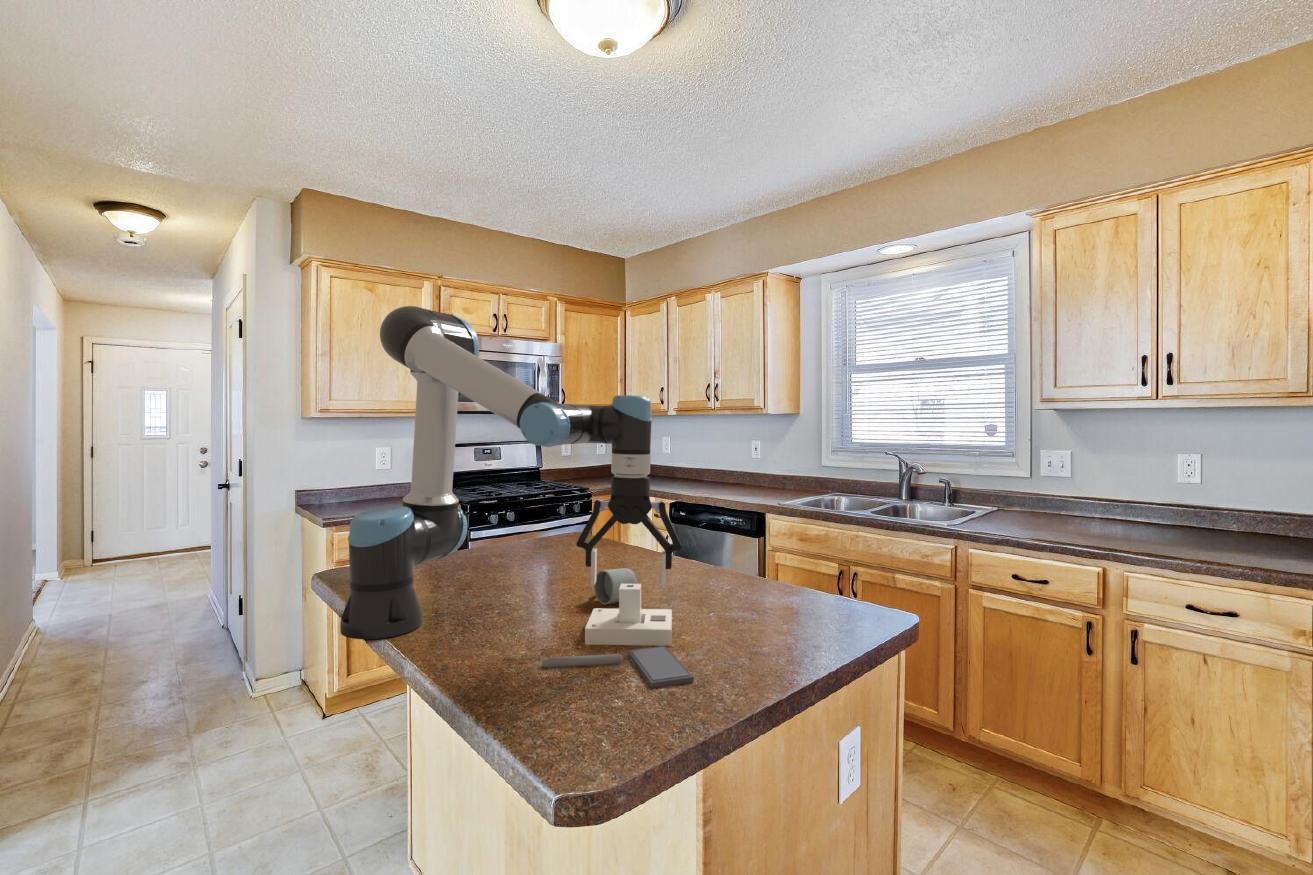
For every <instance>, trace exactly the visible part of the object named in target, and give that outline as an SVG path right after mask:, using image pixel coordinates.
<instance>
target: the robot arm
mask: <svg viewBox="0 0 1313 875" xmlns="http://www.w3.org/2000/svg"><path fill="white" fill-rule="evenodd" d="M379 339H380V343H381V347H382V348H383V350H384V351H385V352H386V354H387V355H388V356H389V357H390V358H392V359H393V360H395V361H396V362H397V363H399V364H400V365H402V366H405V367H406V368H408V369H409V370H410V371H409V372H410V373H409V374H410V375H411V376H412V377H413V378H414V379H415V380H416V396H415V398H416V399H415V413H414V414H415V415H414V418H415V419H414V434H413V449H412V463H411V464H412V465H411V467H412V468H411V484H410V491H409V492H408V493H407V494H406V495H405V496H404V497H402V505H391V506H384V507H380V508H379V507H377V508H371V509H367V510H365V511H362V512H359V513H358V514H355V516H354V517H352V519H351V520H350V523H349V530H348V531H349V534H348V536H347V540H348V557H349V558H348V560H349V562H348V564H349V594H348V596H347V600H346V602H345V603H346V604H345V606H344V609H343V612H342V615H341V617H340V622H339V623H340V634H341V635H342V636H343V637H344V638H349V639H353V640H376V639H377V640H378V639H386V638H392V637H396V636H400V635H404V634H407V633H410V632H413V631H415V630H417V629H418V628H420V627H421V626H422V625H423V622H424V611H423V607H422V604H421V602H420V599H419V597H418V596H419V595H418V594H417V592H416V588H415V585H414V567H415V566H417V565H421V564H425V563H427V562H431V561H434V560H439V559H444V558H445V557H447V556H448V555H450V554H452V553H454V552H456V551H457V550H458V549H459V548H460V547H461V546H462V545H463V543H464V542H465V540H466V537H467V533H468V520H467V516H466V515H464V511H463V509H461V508H460V507H459V504H460V503H459V501H460V499H459V498H458V497H457V496H456V495H455V494H454V492H453V484H454V482H453V480H454V469H455V468H454V467H455V466H454V465H455V451H456V435H457V423H458V422H457V421H458V419H457V418H458V408H459V407H458V406H459V403H458V402H459V393H460V394H461V395H463V396H465V398H468V399H469V400H471V401H473V402H474V403H476V404H478V405H479V406H481V407H483V408H485V409H486V410H487V411H490V412H491V413H492V414H494V415H496V416H498V417H499V418H501V419H503V420H505V421H507V423H510V424H511V425H513V426H515V427H516V428H518V429H519V430H520V432H521V433H522V436H523V437H524V439H525V441H527V442H529V444H531V445H534V446H539V447H545V448H552V447H555V446H563V445H577V444H605V445H606V444H607V445H610V444H611V463H610V464H611V469H610V472H611V474H613V476H611V478H610V499H609V500H602V499H601V498H596V499H595V501H594V504H593V509H592V513H591V514H590V516H589V519H588V520H587V523H586V524H585V526H584V528H583V529H582V532H581V534H580V536H579V538H578V539H577V540H576V543H575V545H576V547H577V548H582V549H583V550H584V551H585V566H586V567H588V568H589V567H590V585H591V586H594V585H595V583H596V575H597V571H598V568H597V566H598V565H597V560H598V548H594V547H595V546H596V545H597V543H599V541H600V540H601V539H602V538H603V537H605V535H606V534H607V532H608V531H610V529H611V528H612V527H613V526H614V525H615V524H616V523H617V522H618V523H620V524H621V525H627V524H631V525H638V524H640V523H642V525H643V526H644V527H645V528H646V529H647V530H648V532H649V533H650V534H651V535H652V536H653V537H654V538H655V540H656V541H657V543H658V544H659V545H660V546H661V547H662V549H663V550H661V572H660V574H661V575H660V582H661V583H660V587H661V588H666V573H667V572H666V571H667V570H671V569H672V567H673V566H672V563H673V562H672V559H673V557H672V556H673V553H674V552H676V551H681V549H682V543H681V540H680V538H679V536H678V533H677V531H676V530H675V527H674V525H673V523H672V520H671V519H670V517H669V514H668V512H667V506H666V502H665V500H662V499H661V500H660V501H654V502H652V501H651V499H650V495H651V494H650V493H651V490H650V489H651V488H650V487H651V478H650V476H648V475H649V474H651V456H652V455H651V444H652V443H651V441H652V422H653V418H652V401H651V399H650V398H649V397H648V396H644V395H629V394H627V395H614V396H613V398H612V401H611V404H609V405H608V404H607V405H597V404H596V405H595V404H578V403H577V404H576V403H569V404H568V403H560V402H558V401H556V400H554V399H552V398H550V397H548V396H546V395H545V394H543V393H541V392H540V391H538V390H536V389H534V388H533V387H531V386H529V385H528V384H526V383H524V382H523V381H521V380H519V379H517V378H516V377H513V376H512V375H510V374H508V373H507V372H505V371H503V370H502V369H500V368H498V367H496V366H495V365H493V364H491V363H489V362H488V361H485V359H483V358H481V357H478V356H479V354H480V353H479V352H480V342H479V338H478V334H477V332H476V330H475V329H474V328H473V326H472V325H471V324H470V323H469V322H468V321H467V320H465V319H463V318H460V317H458V316H456V315H454V314H452V313H451V314H449V313H446V312H441V311H436V310H433V309H427V308H424V307H419V306H415V305H413V306H412V305H407V306H406V305H405V306H400V307H398V308H396V309H393V310H392V311H390V313H388V314H387V315H386V316H385V318H384V319H383V321H382V322H381V324H380V329H379ZM605 508H608V510H609V511H610V513H611V514H612V515H611V516H610V517H609V519H608V520H607V521H606V522H605V524H604V525H603V526H602V527H601V528H600V529H599V530H598V531H597V532H596V534H595V535H594V536H593V537H592V538H591V540H589V541H587V538H588V537H589V535H590V533H591V531H592V529H593V526H594V525H595V523H596V521H597V519H598V518H599V516H600V513H601V512H603V511H605ZM652 509H654V511H655V513H657V514H659V515H660V519H661V522H662V523H663V525H664V528H665V529H666V531H667V534H668V536H669V538H670V540H671V542H672V543H670V542H669V541H668V539H667V538H666V537H665V536H664V534H663V533H662V532H661V531H660V530H659V529H658V527H657V526H656V525H655V524H654V522H653V521H652V520H651V518H650V516H648V514H649V513H650V511H651V510H652Z"/></svg>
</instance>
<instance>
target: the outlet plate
mask: <svg viewBox="0 0 1313 875" xmlns="http://www.w3.org/2000/svg"><path fill="white" fill-rule="evenodd" d="M672 628H673V609H671V608H670V609H669V608H665V609H664V608H662V609H661V608H641V623H619V608H597V607H596V608H593V609H592V612H591V614H590V615H589V618H588V621H587V623H586V625H585V628H584V645H587V646H589V645H590V646H591V645H593V646H596V645H598V646H654V647H660V646H666V647H671V646H672V639H673V638H672V636H673V635H672V633H673V632H672V631H673V629H672Z"/></svg>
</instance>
